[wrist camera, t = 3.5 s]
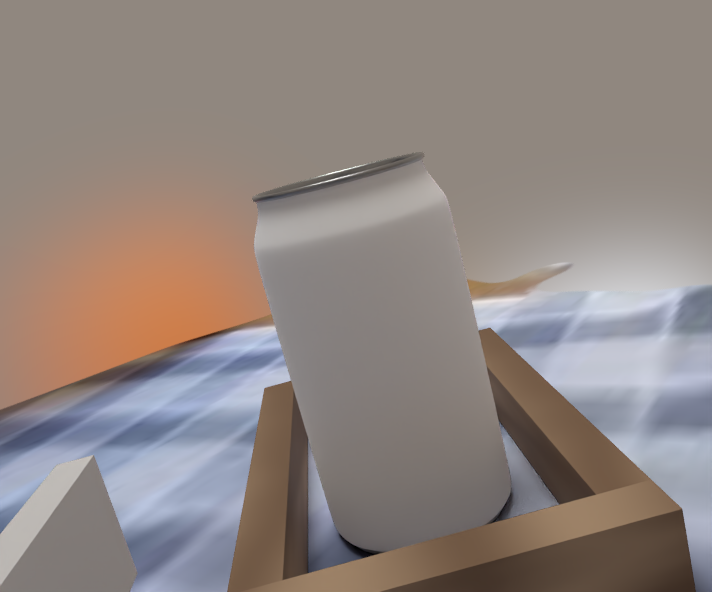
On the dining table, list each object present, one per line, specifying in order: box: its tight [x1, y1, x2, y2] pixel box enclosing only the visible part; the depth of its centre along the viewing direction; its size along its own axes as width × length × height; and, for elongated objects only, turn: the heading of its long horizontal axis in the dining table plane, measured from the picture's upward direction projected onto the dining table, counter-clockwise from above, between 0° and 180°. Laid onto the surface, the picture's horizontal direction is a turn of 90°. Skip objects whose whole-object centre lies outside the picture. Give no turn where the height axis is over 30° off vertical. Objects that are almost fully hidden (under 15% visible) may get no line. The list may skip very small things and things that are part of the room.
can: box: [252, 152, 511, 555], centre depth 23 cm, size 6×6×12 cm
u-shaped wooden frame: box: [227, 328, 696, 592], centre depth 25 cm, size 12×18×2 cm, turn 4°
